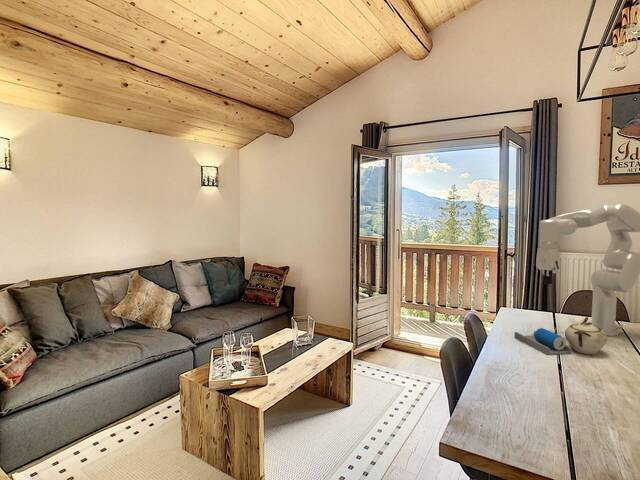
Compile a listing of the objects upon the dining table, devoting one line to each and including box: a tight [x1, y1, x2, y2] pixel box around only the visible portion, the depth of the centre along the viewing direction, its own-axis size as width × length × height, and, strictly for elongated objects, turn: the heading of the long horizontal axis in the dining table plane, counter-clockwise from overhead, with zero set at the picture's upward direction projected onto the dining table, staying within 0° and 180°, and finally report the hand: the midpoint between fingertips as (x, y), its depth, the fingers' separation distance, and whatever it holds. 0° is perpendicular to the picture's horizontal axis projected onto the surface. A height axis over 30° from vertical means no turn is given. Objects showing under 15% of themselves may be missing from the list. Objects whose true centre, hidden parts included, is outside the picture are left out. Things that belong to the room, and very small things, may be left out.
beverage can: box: [533, 327, 567, 350], centre depth 165 cm, size 6×6×12 cm
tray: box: [514, 330, 573, 356], centre depth 168 cm, size 11×22×3 cm, turn 7°
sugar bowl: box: [564, 316, 608, 355], centre depth 162 cm, size 20×15×15 cm
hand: (547, 283), depth 178 cm, fingers closed
